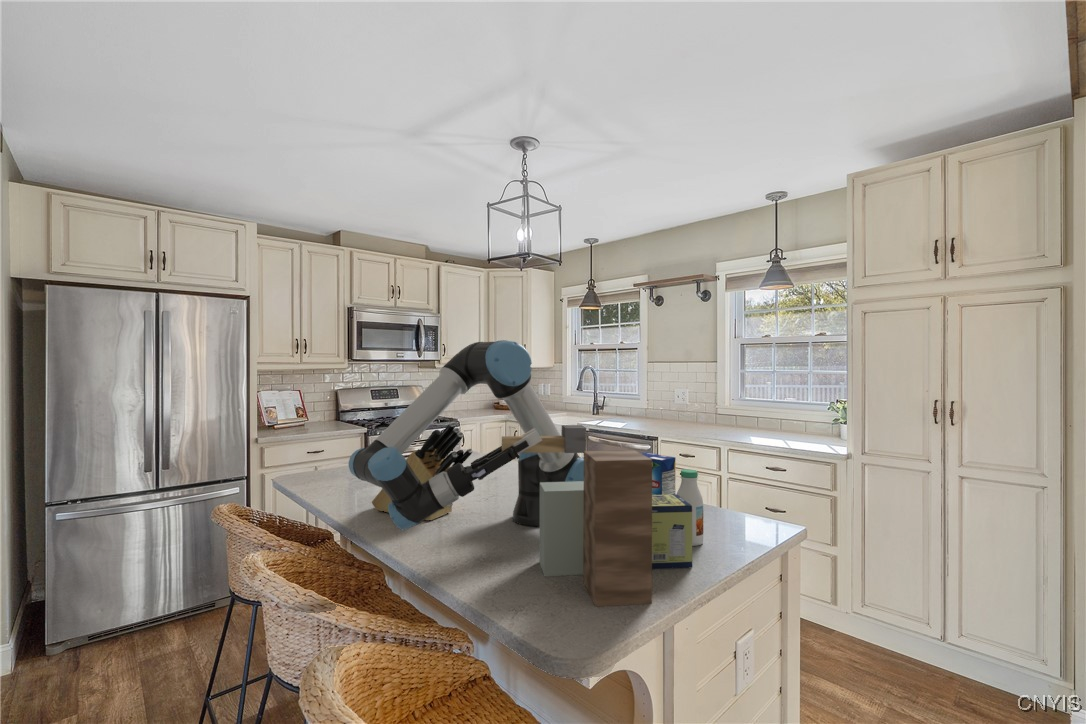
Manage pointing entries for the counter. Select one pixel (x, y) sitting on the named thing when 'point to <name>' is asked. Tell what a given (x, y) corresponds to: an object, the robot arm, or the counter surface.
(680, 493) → the milk bottle
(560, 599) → the counter surface
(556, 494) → the grey-green rectangular block
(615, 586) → the stand
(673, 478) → the beverage box
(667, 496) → the protein box
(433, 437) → the knife block
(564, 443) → the mallet
